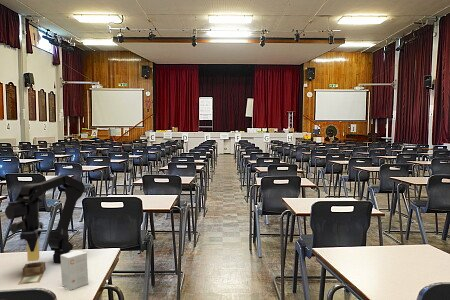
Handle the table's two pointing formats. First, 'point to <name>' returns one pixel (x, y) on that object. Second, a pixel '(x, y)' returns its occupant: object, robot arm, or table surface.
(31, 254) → the block
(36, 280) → the board
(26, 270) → the pocket
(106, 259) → the table surface
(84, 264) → the small box
